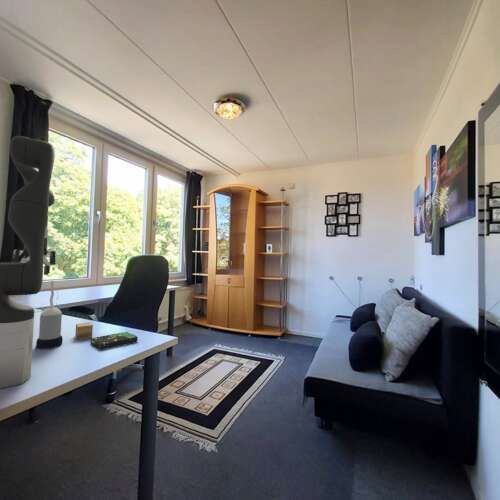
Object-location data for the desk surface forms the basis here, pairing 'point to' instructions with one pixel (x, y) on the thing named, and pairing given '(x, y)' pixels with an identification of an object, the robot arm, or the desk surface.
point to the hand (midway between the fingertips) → (33, 275)
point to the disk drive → (113, 340)
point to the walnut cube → (84, 330)
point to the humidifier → (50, 326)
